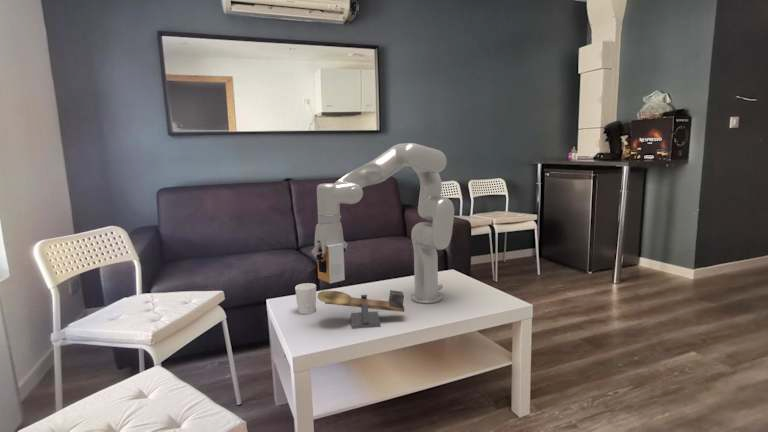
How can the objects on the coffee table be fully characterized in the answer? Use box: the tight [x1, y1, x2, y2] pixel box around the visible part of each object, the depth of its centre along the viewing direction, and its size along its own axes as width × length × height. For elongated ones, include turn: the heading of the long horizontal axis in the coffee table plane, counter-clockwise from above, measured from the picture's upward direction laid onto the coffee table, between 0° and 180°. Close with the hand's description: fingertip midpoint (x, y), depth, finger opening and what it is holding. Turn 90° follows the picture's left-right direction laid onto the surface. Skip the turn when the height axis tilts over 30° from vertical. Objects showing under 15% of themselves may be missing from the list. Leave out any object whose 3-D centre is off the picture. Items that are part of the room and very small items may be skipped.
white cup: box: [294, 282, 317, 315], centre depth 158 cm, size 8×8×10 cm
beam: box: [316, 290, 405, 313], centre depth 147 cm, size 31×12×6 cm, turn 95°
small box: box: [316, 243, 346, 284], centre depth 144 cm, size 8×6×13 cm
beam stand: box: [350, 294, 382, 329], centre depth 147 cm, size 10×12×8 cm
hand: (331, 269), depth 144 cm, fingers closed on small box, 7 cm apart
